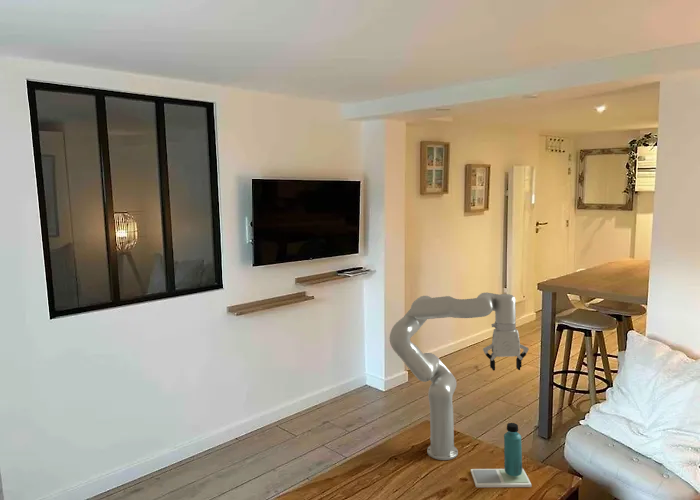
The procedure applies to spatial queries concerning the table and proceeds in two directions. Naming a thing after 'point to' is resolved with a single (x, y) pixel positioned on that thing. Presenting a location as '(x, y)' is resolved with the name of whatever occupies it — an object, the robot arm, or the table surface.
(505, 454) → the beverage bottle
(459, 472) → the table surface
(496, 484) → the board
